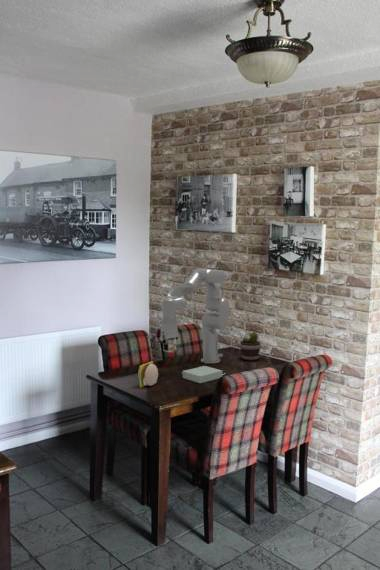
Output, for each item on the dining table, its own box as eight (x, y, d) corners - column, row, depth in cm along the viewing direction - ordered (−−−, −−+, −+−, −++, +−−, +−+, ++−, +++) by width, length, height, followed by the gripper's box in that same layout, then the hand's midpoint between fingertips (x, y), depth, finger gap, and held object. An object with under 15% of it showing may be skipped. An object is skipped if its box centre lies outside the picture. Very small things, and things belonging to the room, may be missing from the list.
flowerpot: (234, 358, 373) (234, 329, 371) (252, 355, 382) (252, 326, 379) (248, 363, 361) (248, 332, 359) (266, 359, 369) (266, 330, 367)
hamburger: (148, 388, 307) (148, 367, 306) (136, 386, 311) (136, 365, 310) (161, 383, 317) (160, 362, 316) (148, 381, 322) (148, 360, 320)
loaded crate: (170, 349, 338) (170, 337, 337) (176, 350, 334) (176, 339, 333) (163, 350, 334) (163, 339, 333) (169, 352, 330) (169, 340, 329)
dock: (204, 372, 340) (204, 365, 340) (222, 377, 329) (222, 370, 329) (182, 377, 328) (182, 371, 328) (200, 383, 317) (200, 376, 317)
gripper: (176, 316, 340) (176, 345, 342) (153, 320, 328) (154, 350, 331) (184, 318, 334) (184, 347, 337) (162, 322, 323) (162, 353, 325)
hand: (169, 349), depth 334 cm, fingers closed on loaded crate, 5 cm apart
